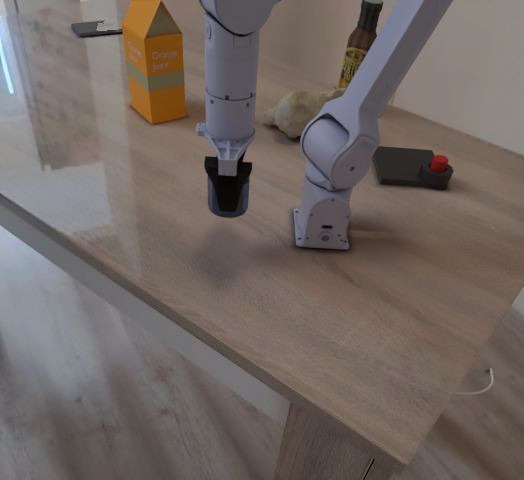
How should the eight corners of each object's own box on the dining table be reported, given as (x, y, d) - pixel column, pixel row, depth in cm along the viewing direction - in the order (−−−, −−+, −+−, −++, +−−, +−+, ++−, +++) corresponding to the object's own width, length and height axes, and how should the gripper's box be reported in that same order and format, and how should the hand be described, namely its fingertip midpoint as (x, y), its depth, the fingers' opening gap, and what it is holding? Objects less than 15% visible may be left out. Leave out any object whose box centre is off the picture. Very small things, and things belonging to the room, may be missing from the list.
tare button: (445, 173, 84) (450, 162, 82) (431, 172, 84) (435, 161, 82) (442, 166, 86) (446, 155, 84) (428, 164, 86) (432, 154, 84)
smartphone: (69, 23, 122) (126, 17, 127) (70, 27, 123) (127, 22, 128) (78, 33, 118) (136, 27, 123) (79, 37, 119) (137, 31, 124)
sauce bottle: (329, 109, 103) (350, -2, 88) (338, 98, 107) (359, -9, 92) (358, 116, 102) (383, 6, 87) (366, 106, 106) (391, -2, 91)
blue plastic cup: (247, 219, 63) (249, 188, 60) (206, 217, 63) (206, 186, 59) (248, 196, 67) (249, 166, 63) (209, 194, 66) (209, 163, 63)
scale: (450, 192, 85) (456, 176, 83) (380, 187, 84) (385, 171, 82) (433, 156, 93) (439, 141, 91) (369, 151, 93) (373, 136, 90)
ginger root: (257, 151, 93) (319, 119, 83) (248, 112, 92) (309, 75, 82) (303, 151, 104) (362, 123, 94) (294, 116, 103) (354, 85, 93)
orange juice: (151, 124, 93) (139, 1, 77) (131, 106, 97) (115, -15, 82) (186, 116, 96) (181, -4, 81) (165, 99, 100) (157, -18, 85)
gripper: (199, 62, 58) (202, 166, 68) (189, 116, 48) (193, 227, 59) (257, 66, 58) (251, 170, 69) (258, 121, 49) (250, 231, 59)
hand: (228, 197), depth 64 cm, fingers closed on blue plastic cup, 5 cm apart
